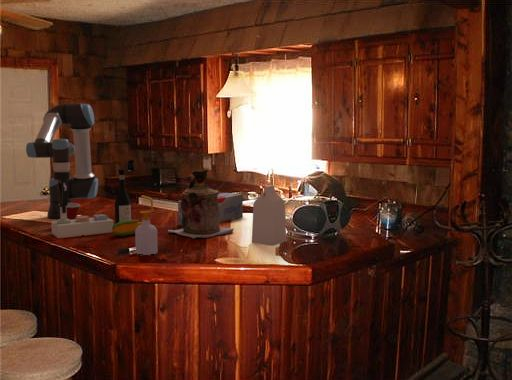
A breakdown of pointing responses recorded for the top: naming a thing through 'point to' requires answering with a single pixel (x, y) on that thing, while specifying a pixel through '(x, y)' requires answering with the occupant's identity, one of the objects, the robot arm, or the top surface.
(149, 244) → the soap bottle
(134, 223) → the corn
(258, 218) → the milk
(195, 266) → the top surface
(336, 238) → the top surface
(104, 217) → the dusty blue block
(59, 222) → the sage green block
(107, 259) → the top surface
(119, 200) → the wine bottle
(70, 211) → the plastic cup
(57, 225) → the console
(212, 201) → the cookie jar
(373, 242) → the top surface
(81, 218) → the terracotta block
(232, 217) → the soda pack
